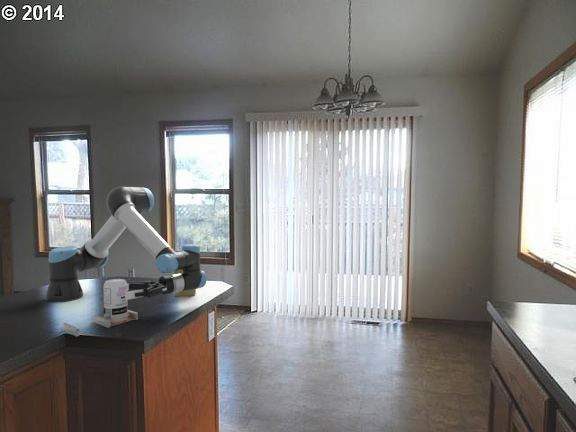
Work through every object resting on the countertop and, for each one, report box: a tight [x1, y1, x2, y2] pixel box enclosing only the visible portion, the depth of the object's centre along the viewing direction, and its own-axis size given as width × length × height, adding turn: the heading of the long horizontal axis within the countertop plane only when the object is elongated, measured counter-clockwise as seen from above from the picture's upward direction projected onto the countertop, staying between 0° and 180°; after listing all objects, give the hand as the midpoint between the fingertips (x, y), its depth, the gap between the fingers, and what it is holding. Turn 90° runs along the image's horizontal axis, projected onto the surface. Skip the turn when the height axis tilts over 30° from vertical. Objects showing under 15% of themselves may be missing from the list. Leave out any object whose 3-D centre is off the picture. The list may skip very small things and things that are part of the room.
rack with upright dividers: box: [61, 309, 139, 337], centre depth 144 cm, size 10×23×2 cm, turn 144°
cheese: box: [173, 269, 197, 298], centre depth 195 cm, size 22×10×15 cm, turn 18°
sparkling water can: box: [102, 278, 129, 323], centre depth 148 cm, size 8×8×15 cm
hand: (118, 292), depth 148 cm, fingers open, 13 cm apart
